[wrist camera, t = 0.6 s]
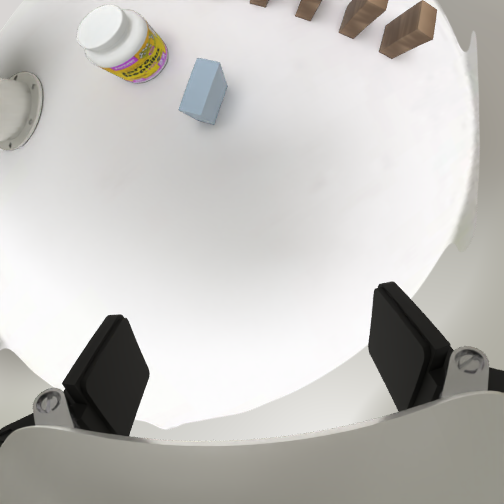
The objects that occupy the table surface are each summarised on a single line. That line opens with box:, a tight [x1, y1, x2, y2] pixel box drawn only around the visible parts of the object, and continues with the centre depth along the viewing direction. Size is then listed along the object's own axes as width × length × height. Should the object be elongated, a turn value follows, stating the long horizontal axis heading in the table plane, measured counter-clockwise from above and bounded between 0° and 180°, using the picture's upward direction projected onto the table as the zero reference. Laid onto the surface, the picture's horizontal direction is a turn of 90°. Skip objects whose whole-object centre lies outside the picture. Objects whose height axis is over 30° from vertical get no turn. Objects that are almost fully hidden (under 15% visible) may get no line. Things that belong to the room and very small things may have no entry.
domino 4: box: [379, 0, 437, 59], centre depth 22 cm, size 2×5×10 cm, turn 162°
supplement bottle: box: [77, 5, 168, 83], centre depth 21 cm, size 7×7×13 cm
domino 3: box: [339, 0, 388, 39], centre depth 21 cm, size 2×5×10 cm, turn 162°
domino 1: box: [179, 58, 227, 125], centre depth 25 cm, size 2×5×10 cm, turn 162°
